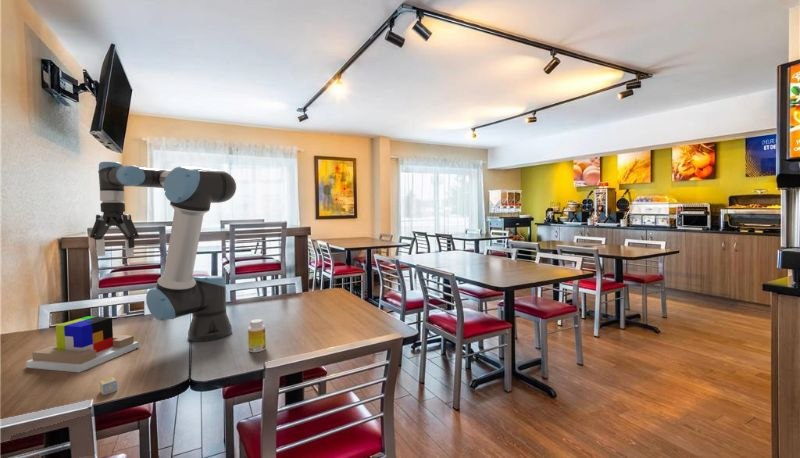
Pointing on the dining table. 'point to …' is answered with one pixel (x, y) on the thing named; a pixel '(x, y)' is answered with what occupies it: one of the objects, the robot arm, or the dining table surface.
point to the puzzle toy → (85, 334)
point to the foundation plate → (85, 365)
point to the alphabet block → (108, 386)
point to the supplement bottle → (256, 336)
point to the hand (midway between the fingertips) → (115, 256)
